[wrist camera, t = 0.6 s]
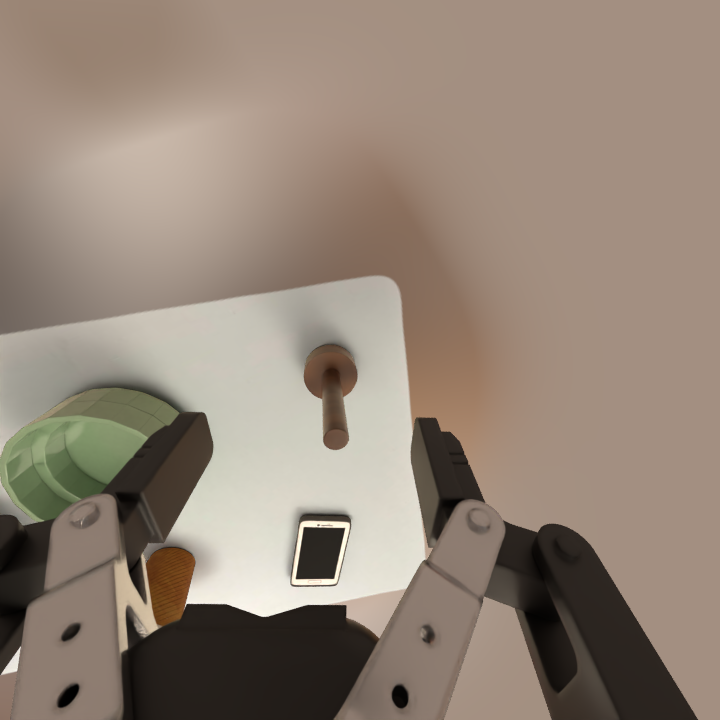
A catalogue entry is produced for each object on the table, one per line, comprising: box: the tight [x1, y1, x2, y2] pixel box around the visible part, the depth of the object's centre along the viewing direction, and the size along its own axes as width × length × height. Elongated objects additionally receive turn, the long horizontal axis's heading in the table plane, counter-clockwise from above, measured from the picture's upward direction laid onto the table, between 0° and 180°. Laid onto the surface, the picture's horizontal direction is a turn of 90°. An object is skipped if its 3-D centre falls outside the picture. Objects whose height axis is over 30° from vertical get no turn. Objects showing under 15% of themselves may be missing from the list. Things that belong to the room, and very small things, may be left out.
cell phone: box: [290, 515, 351, 587], centre depth 47 cm, size 8×15×1 cm, turn 170°
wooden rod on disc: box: [304, 345, 357, 450], centre depth 30 cm, size 6×6×14 cm
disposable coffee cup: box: [146, 548, 195, 629], centre depth 40 cm, size 10×10×12 cm
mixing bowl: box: [0, 388, 180, 522], centre depth 34 cm, size 16×16×6 cm
